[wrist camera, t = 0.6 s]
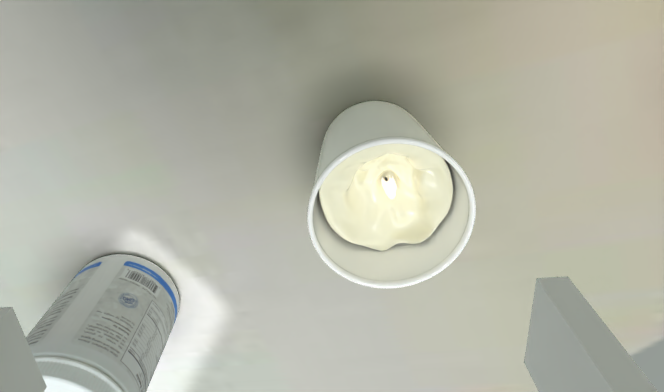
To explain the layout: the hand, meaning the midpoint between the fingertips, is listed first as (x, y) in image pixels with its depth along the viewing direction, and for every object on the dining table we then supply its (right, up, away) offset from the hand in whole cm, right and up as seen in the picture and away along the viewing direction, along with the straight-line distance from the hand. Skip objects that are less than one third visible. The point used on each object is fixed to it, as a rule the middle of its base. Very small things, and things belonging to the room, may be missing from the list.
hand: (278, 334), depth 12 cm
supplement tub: (-17, -5, +32) cm, 37 cm away
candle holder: (+5, +7, +26) cm, 28 cm away
